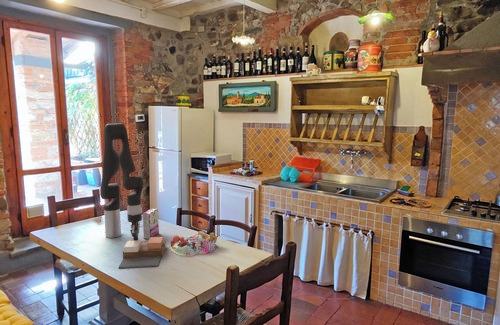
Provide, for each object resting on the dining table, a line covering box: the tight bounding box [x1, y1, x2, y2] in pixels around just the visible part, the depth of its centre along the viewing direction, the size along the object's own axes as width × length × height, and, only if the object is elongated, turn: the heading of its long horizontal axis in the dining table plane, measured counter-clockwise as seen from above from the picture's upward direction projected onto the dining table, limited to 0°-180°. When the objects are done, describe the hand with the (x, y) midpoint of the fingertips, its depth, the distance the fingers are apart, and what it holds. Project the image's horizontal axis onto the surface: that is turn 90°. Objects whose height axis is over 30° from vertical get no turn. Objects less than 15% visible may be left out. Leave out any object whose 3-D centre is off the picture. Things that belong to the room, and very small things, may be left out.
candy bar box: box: [142, 208, 160, 240], centre depth 210 cm, size 11×5×16 cm, turn 168°
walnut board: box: [122, 239, 166, 260], centre depth 185 cm, size 15×20×4 cm
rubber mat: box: [118, 256, 162, 270], centre depth 173 cm, size 11×19×1 cm, turn 97°
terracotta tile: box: [147, 236, 164, 249], centre depth 186 cm, size 9×7×3 cm
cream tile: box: [123, 239, 142, 252], centre depth 180 cm, size 9×7×3 cm
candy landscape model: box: [170, 230, 218, 257], centre depth 192 cm, size 25×24×9 cm
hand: (135, 242), depth 187 cm, fingers closed
